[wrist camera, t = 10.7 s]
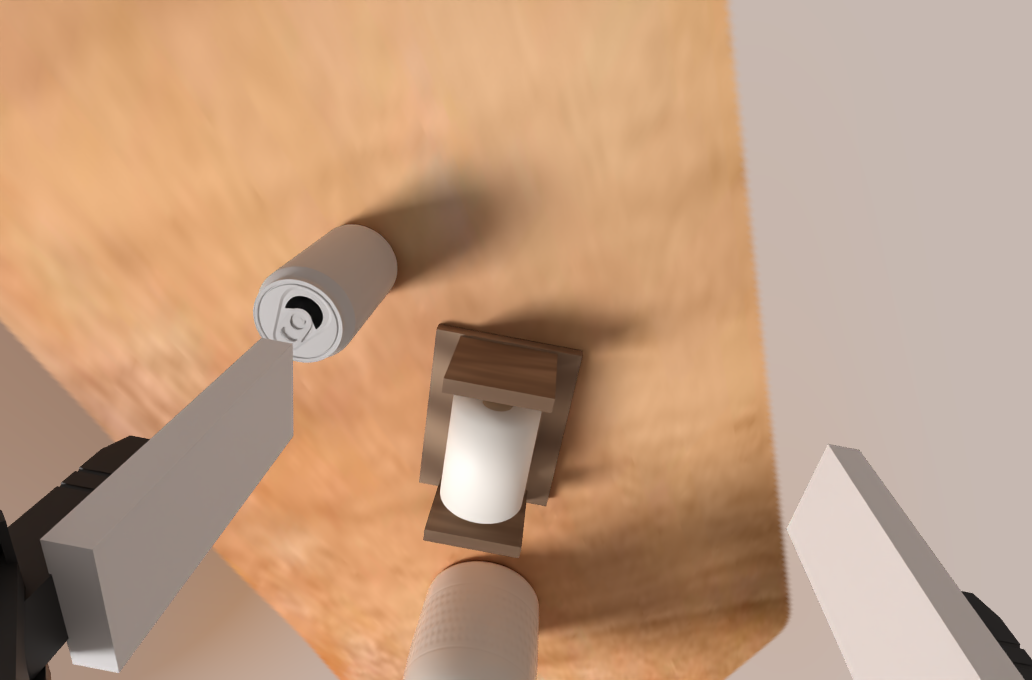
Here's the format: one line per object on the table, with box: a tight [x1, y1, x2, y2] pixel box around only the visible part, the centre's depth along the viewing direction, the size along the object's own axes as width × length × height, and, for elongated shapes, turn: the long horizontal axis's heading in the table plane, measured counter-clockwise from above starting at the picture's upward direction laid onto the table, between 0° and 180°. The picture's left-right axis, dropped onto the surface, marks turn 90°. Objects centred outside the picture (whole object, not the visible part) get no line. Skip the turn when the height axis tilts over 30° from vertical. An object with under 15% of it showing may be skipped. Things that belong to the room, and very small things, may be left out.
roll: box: [440, 395, 542, 524], centre depth 48 cm, size 9×7×7 cm
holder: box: [419, 324, 582, 558], centre depth 49 cm, size 16×12×8 cm
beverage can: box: [253, 224, 397, 362], centre depth 42 cm, size 6×6×12 cm
